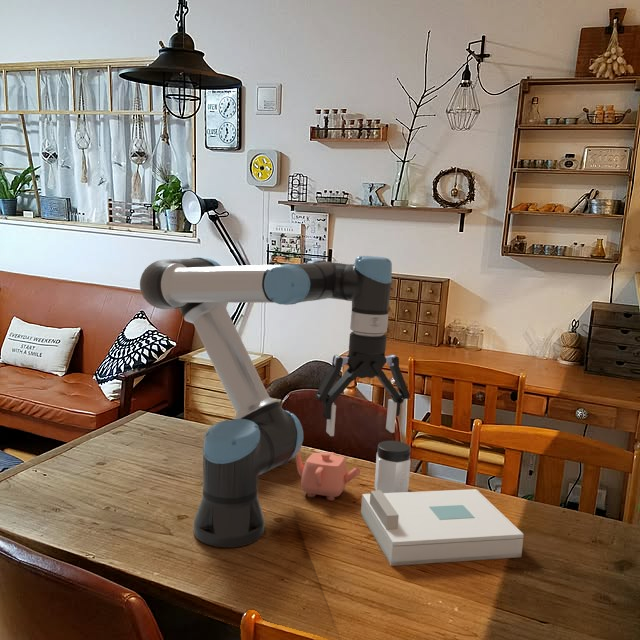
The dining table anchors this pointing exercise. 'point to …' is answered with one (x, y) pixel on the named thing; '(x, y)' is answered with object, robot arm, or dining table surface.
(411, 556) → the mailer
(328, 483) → the teapot
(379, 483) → the jar
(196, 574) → the dining table surface
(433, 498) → the lid
